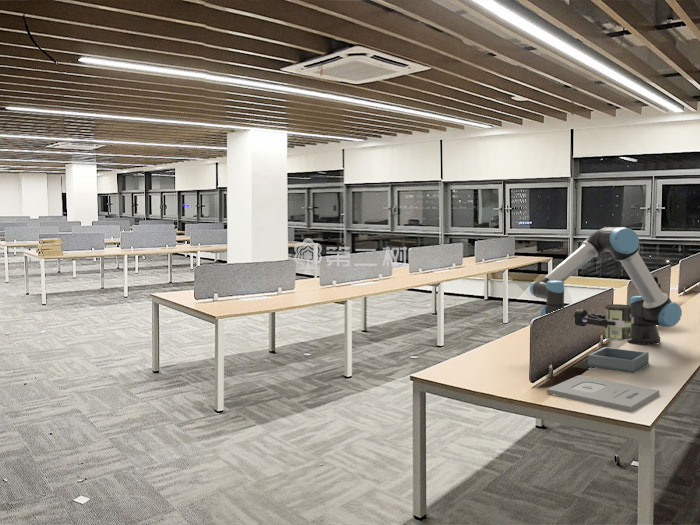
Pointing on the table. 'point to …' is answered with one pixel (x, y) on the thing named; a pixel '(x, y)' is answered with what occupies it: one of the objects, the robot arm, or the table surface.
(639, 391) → the award plaque
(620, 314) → the coffee can
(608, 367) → the tray
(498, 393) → the table surface
